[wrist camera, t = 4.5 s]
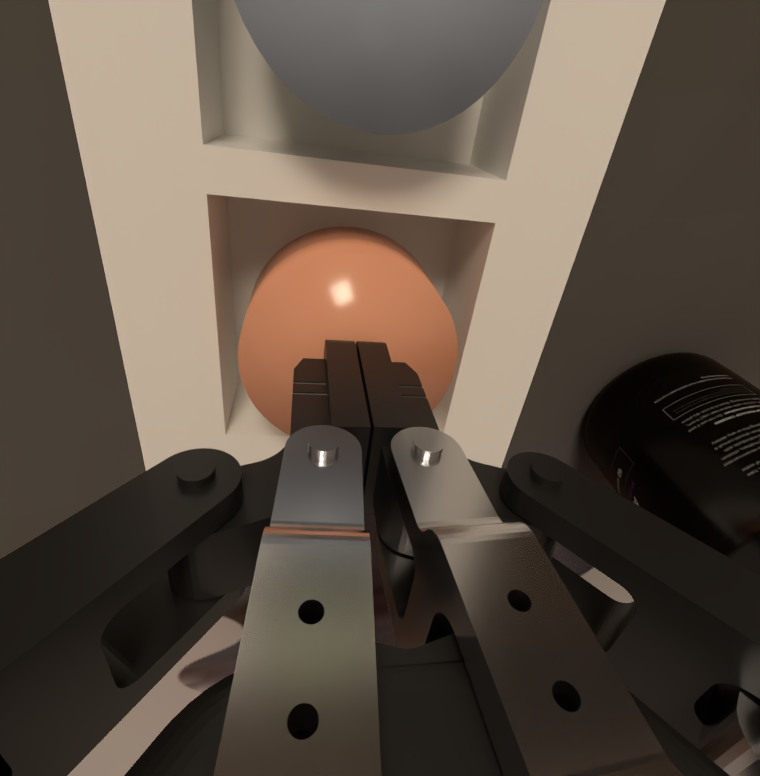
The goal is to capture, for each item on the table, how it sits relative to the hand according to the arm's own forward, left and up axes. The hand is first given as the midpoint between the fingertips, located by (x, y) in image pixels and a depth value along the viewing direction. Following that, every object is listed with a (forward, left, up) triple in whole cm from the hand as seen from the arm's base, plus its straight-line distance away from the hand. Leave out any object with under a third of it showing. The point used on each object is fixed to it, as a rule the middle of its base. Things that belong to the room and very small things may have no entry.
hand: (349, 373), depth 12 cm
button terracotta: (0, 0, -3) cm, 3 cm away
